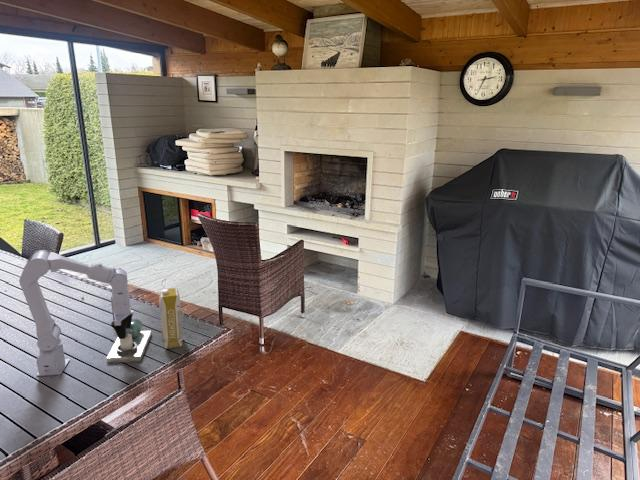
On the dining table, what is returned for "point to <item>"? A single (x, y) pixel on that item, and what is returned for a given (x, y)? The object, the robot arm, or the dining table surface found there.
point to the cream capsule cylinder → (126, 343)
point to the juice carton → (171, 318)
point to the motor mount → (139, 344)
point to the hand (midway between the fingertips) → (124, 333)
